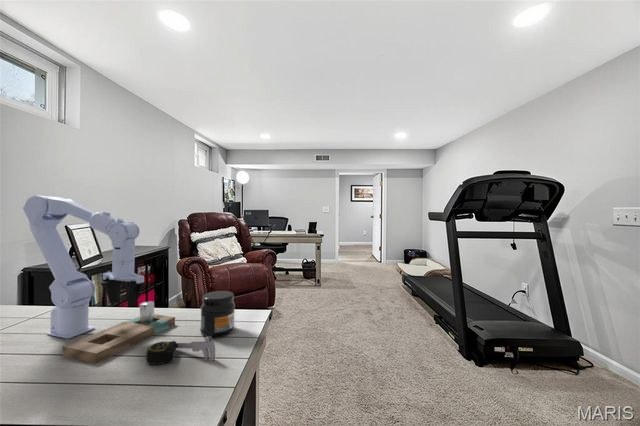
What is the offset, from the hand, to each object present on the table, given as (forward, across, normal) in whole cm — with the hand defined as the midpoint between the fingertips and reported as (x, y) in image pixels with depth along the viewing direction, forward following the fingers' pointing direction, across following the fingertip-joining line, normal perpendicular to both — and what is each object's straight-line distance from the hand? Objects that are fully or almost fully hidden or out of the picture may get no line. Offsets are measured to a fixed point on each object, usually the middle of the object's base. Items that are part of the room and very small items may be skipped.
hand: (122, 303), depth 88 cm
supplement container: (+10, +27, +11) cm, 31 cm away
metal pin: (+9, +4, +5) cm, 11 cm away
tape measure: (+10, +24, -8) cm, 27 cm away
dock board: (+9, +4, -2) cm, 10 cm away
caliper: (+10, +27, -4) cm, 29 cm away
